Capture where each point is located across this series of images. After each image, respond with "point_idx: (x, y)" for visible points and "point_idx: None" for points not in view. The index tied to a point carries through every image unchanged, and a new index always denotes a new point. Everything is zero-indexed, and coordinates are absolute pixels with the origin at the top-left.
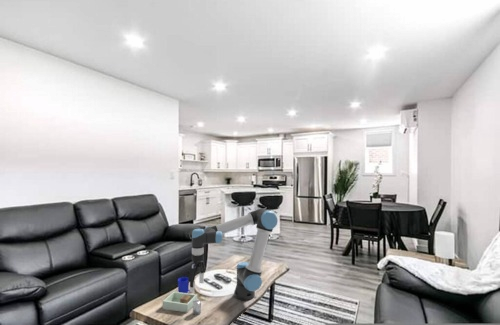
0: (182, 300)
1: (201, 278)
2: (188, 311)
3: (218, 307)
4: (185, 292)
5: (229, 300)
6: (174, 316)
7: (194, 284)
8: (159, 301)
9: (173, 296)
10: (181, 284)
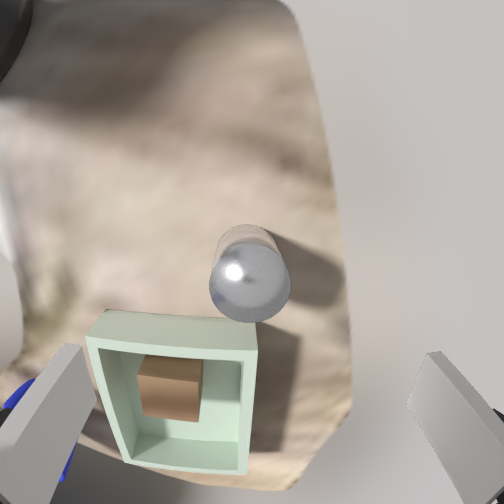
0: (199, 402)
1: (55, 428)
2: None
3: (130, 120)
4: None
5: (33, 92)
6: (310, 368)
7: (491, 428)
8: None
9: (143, 446)
10: None
